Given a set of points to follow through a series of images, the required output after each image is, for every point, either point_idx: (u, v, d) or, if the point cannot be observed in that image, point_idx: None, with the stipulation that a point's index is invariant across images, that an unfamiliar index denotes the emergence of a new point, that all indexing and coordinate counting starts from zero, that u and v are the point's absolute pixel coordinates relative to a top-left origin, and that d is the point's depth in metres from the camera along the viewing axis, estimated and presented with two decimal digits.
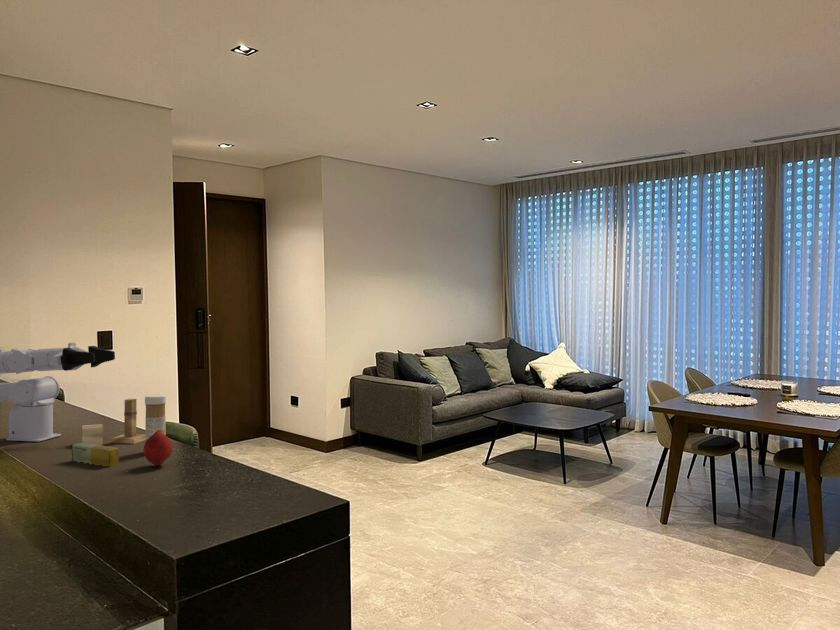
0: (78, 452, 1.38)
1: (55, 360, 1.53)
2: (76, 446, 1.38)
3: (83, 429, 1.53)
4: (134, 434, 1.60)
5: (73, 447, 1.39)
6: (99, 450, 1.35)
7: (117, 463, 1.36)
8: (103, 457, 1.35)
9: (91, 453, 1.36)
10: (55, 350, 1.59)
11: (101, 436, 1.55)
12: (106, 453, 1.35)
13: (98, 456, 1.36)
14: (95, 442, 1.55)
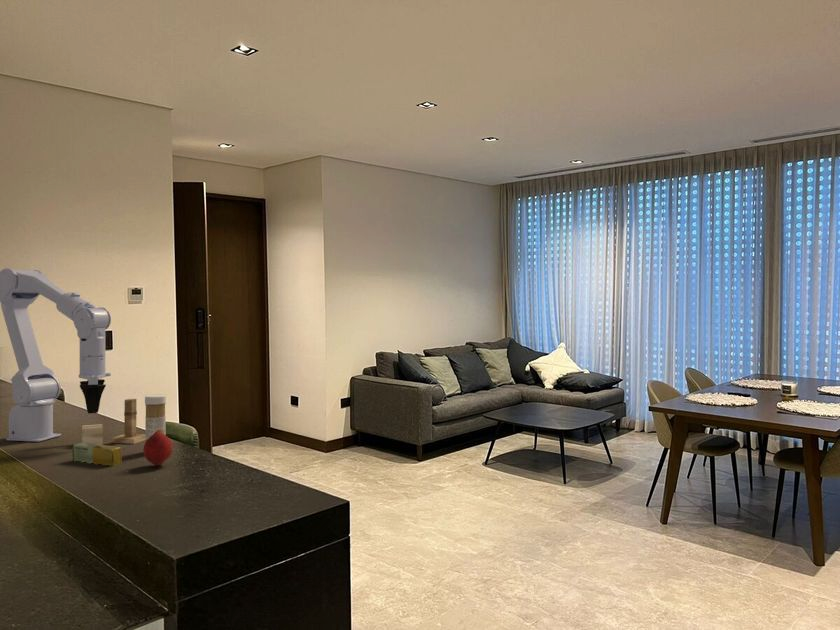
0: (80, 452, 1.38)
1: (92, 382, 1.50)
2: (77, 446, 1.39)
3: (83, 429, 1.53)
4: (134, 434, 1.60)
5: (74, 447, 1.39)
6: (102, 450, 1.36)
7: (120, 462, 1.37)
8: (106, 456, 1.35)
9: (93, 453, 1.37)
10: (103, 361, 1.56)
11: (101, 436, 1.55)
12: (109, 452, 1.35)
13: (100, 455, 1.36)
14: (95, 442, 1.55)
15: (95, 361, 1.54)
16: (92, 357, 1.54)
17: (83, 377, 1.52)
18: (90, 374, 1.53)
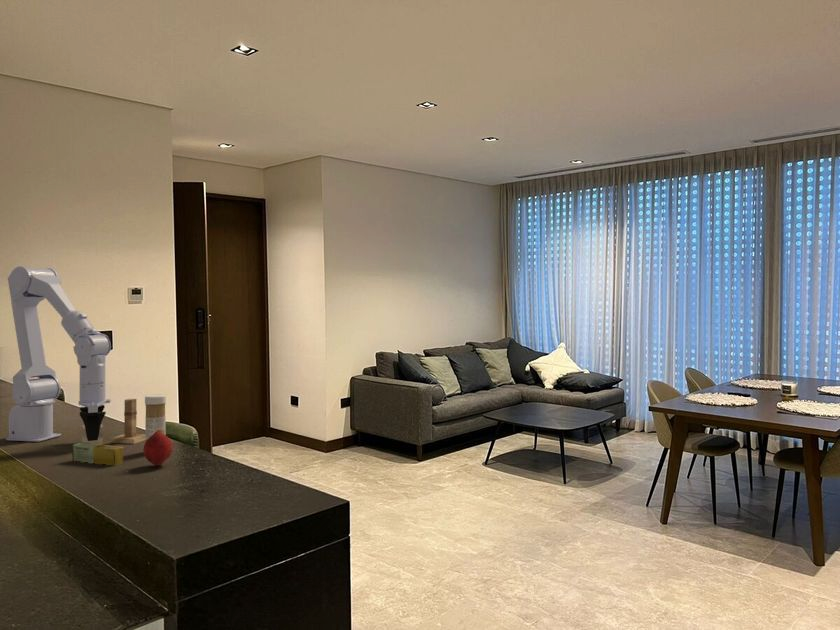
0: (80, 452, 1.38)
1: (92, 410, 1.50)
2: (77, 446, 1.38)
3: (83, 429, 1.53)
4: (134, 434, 1.60)
5: (74, 447, 1.39)
6: (103, 450, 1.36)
7: (121, 462, 1.37)
8: (108, 455, 1.36)
9: (94, 453, 1.37)
10: (103, 388, 1.56)
11: (101, 436, 1.55)
12: (110, 452, 1.36)
13: (101, 455, 1.36)
14: (95, 442, 1.55)
15: (95, 388, 1.54)
16: (92, 384, 1.54)
17: (83, 404, 1.52)
18: (90, 401, 1.54)
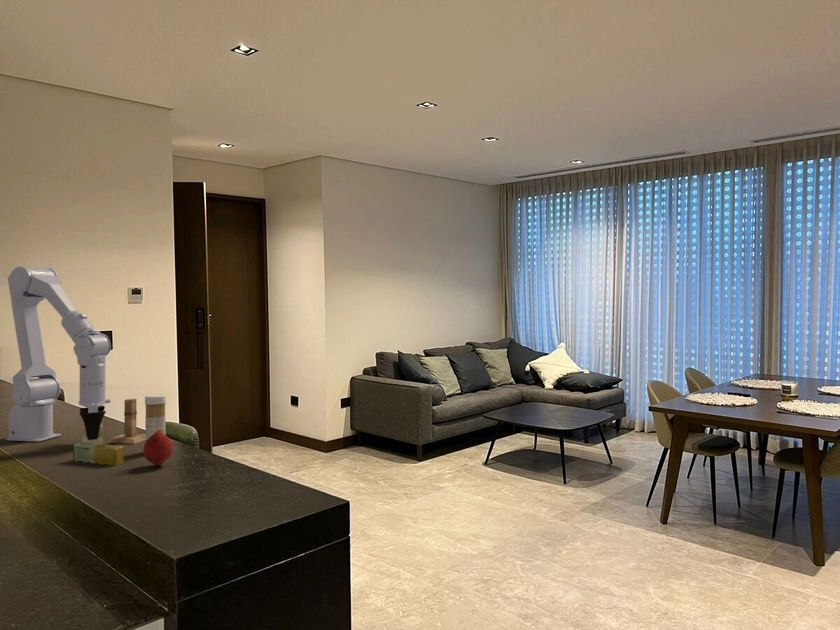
0: (80, 452, 1.38)
1: (92, 410, 1.50)
2: (78, 446, 1.39)
3: (83, 429, 1.53)
4: (134, 434, 1.60)
5: (75, 447, 1.39)
6: (104, 449, 1.36)
7: (122, 461, 1.38)
8: (108, 455, 1.36)
9: (94, 452, 1.37)
10: (103, 388, 1.56)
11: (101, 436, 1.55)
12: (111, 452, 1.36)
13: (102, 455, 1.37)
14: (95, 442, 1.55)
15: (95, 388, 1.54)
16: (92, 384, 1.54)
17: (83, 404, 1.52)
18: (90, 401, 1.54)
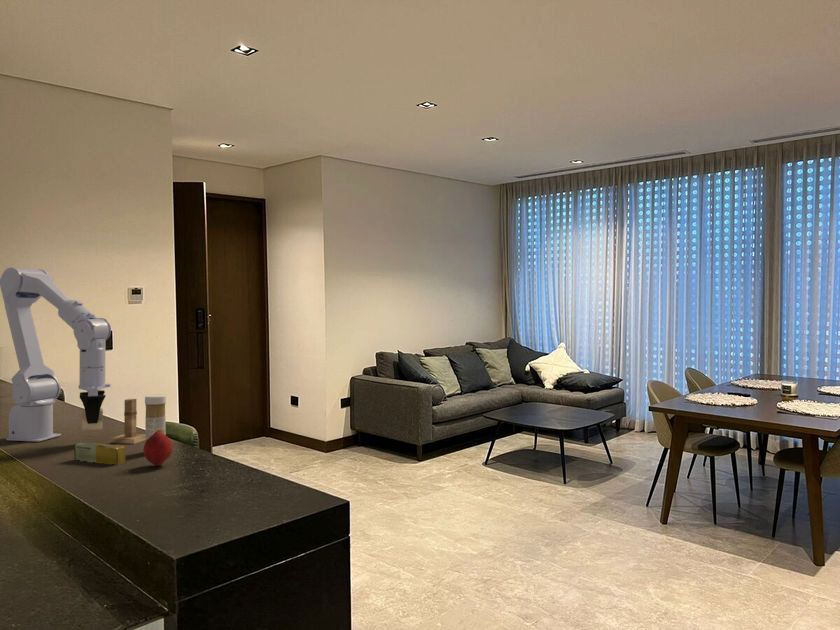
0: (82, 451, 1.39)
1: (92, 393, 1.50)
2: (79, 445, 1.39)
3: (83, 412, 1.53)
4: (134, 434, 1.60)
5: (76, 446, 1.39)
6: (106, 449, 1.37)
7: (123, 461, 1.38)
8: (110, 455, 1.37)
9: (96, 452, 1.38)
10: (103, 372, 1.56)
11: (101, 420, 1.55)
12: (113, 451, 1.36)
13: (104, 454, 1.37)
14: (95, 426, 1.55)
15: (95, 372, 1.54)
16: (92, 368, 1.54)
17: (83, 388, 1.52)
18: (90, 385, 1.53)
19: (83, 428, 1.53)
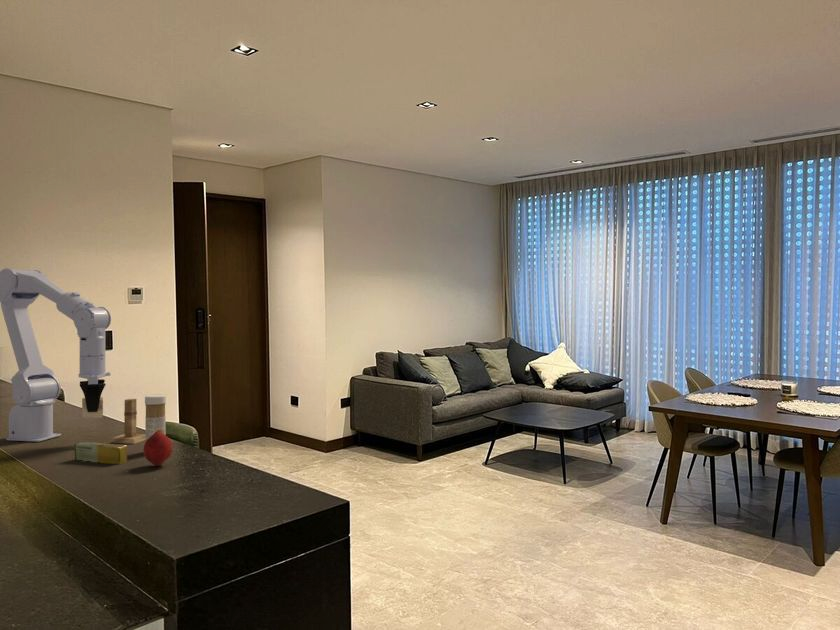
0: (83, 451, 1.39)
1: (92, 381, 1.50)
2: (80, 445, 1.39)
3: (83, 401, 1.53)
4: (134, 434, 1.60)
5: (76, 446, 1.39)
6: (108, 448, 1.37)
7: (125, 460, 1.39)
8: (112, 454, 1.37)
9: (97, 451, 1.38)
10: (103, 361, 1.56)
11: (101, 408, 1.55)
12: (115, 451, 1.37)
13: (106, 454, 1.38)
14: (95, 414, 1.55)
15: (95, 360, 1.54)
16: (92, 357, 1.54)
17: (83, 376, 1.52)
18: (90, 373, 1.53)
19: (83, 416, 1.53)
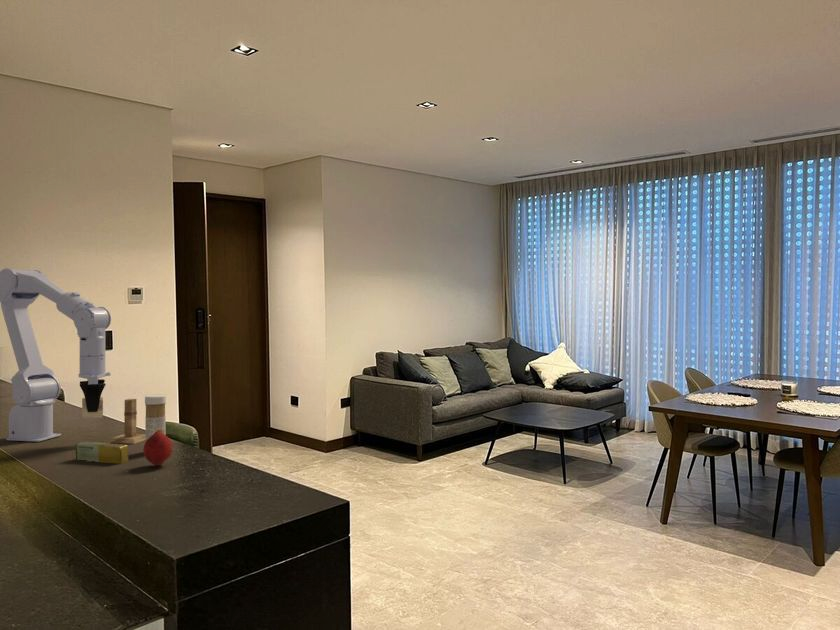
0: (84, 451, 1.39)
1: (92, 381, 1.50)
2: (81, 445, 1.40)
3: (83, 401, 1.53)
4: (134, 434, 1.60)
5: (77, 446, 1.40)
6: (109, 448, 1.38)
7: (127, 460, 1.39)
8: (113, 454, 1.38)
9: (99, 451, 1.38)
10: (103, 361, 1.56)
11: (101, 408, 1.55)
12: (116, 450, 1.37)
13: (107, 453, 1.38)
14: (95, 414, 1.55)
15: (95, 360, 1.54)
16: (92, 357, 1.54)
17: (83, 376, 1.52)
18: (90, 373, 1.53)
19: (83, 416, 1.53)
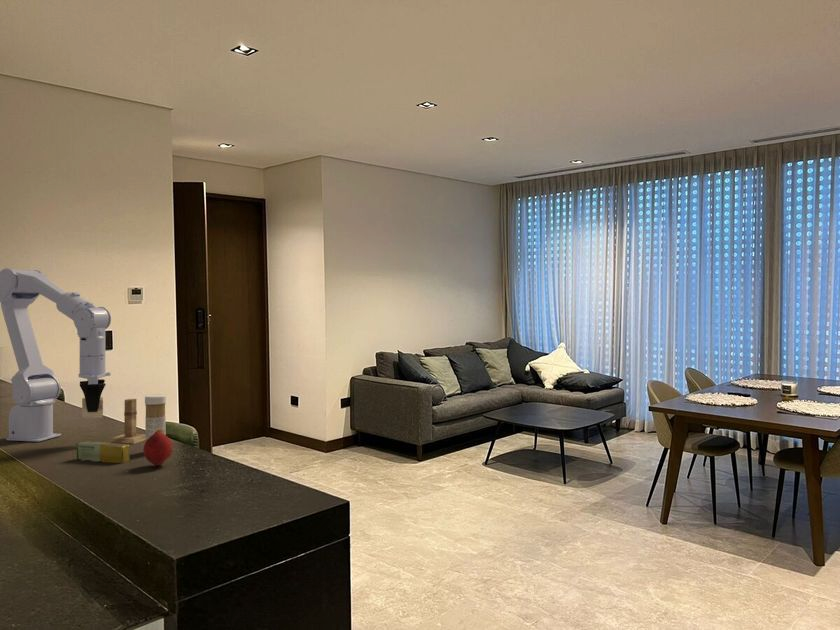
0: (85, 450, 1.40)
1: (92, 381, 1.50)
2: (82, 444, 1.40)
3: (83, 401, 1.53)
4: (134, 434, 1.60)
5: (78, 446, 1.40)
6: (110, 447, 1.38)
7: (128, 459, 1.40)
8: (115, 453, 1.38)
9: (100, 451, 1.39)
10: (103, 361, 1.56)
11: (101, 408, 1.55)
12: (118, 450, 1.38)
13: (108, 453, 1.38)
14: (95, 414, 1.55)
15: (95, 360, 1.54)
16: (92, 357, 1.54)
17: (83, 376, 1.52)
18: (90, 373, 1.53)
19: (83, 416, 1.53)
